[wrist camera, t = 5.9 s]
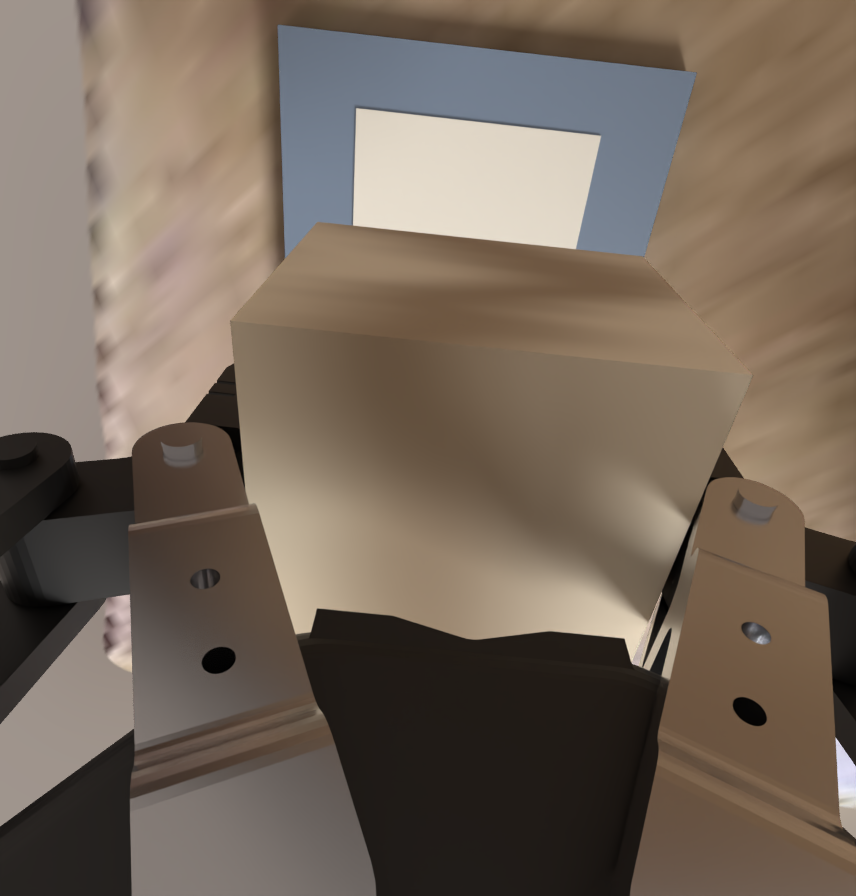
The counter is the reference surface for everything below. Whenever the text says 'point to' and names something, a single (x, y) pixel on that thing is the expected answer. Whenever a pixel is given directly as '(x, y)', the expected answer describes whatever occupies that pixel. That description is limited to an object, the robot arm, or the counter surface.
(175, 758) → the robot arm
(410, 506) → the maple block
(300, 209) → the board
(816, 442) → the counter surface
